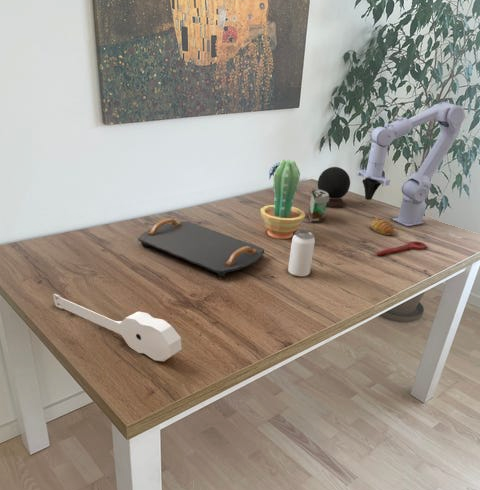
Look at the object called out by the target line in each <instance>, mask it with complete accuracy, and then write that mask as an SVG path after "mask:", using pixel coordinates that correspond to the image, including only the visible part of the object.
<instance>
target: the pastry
mask: <svg viewBox="0 0 480 490" xmlns="http://www.w3.org/2000/svg"><path fill="white" fill-rule="evenodd" d="M370 228H371V229H372V230H373V231H375V232H377V233H378V234H381V235H386V236H390V235H393V234H394V233H395V228H394V226H393V225H392V224H391V223H390V222H389V221H387V220H385V219H382V218H380V217H377V218H375V219H373V220H372V221H371V222H370Z"/></svg>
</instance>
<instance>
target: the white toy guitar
mask: <svg viewBox="0 0 480 490" xmlns="http://www.w3.org/2000/svg"><path fill="white" fill-rule="evenodd" d="M52 297H53V302H54V305H55V307H57V308H59V309H60V310H61V309H62V310H66V311H68V312H70V313H72V314H74V315H76V316H78V317H81V318H82V319H86V320H87V321H90V322H91V323H94V324H96V325H99V326H101V327H103V328H105V329H107V330H109V331H111V332H114V333H116V334H118V335H120V336H121V337H122V338H123V340H124V341H125V343H126V344H127V346H128V347H129V348H130V349H132V350H133V351H135V352H136V353H138V354H144V355H146V356H147V357H149V358H150V359H152V360H153V361H156V362H165V361H167V360H168V359H170V358H171V357H173V356H174V355H176V354H177V353H179V352H180V351H182V350H183V349H182V337H181V336H180V334H179V333H178V332H177V331H176V329H175V328H174V327H173V326H172V325H171V324H170V323H168V321H166V320H165V319H162V318H157V317H153V316H152V315H150V314H149V313H148V312H143V311H136V312H134V313H132V314H130V315H128V316H126V317H125V318H124V319H123V320H114V319H112V318H109V317H107V316H105V315H102V314H99V313H98V312H95V311H93V310H91V309H90V308H89V309H88V308H86V307H84V306H82V305H80V304H78V303H75V302H72V301H70V300H68V299H65V298H63V297H61V295H59V294H56V293H53V294H52Z"/></svg>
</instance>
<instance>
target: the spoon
mask: <svg viewBox="0 0 480 490" xmlns="http://www.w3.org/2000/svg"><path fill="white" fill-rule="evenodd" d="M426 247H427V244H426V243H425V242H423V241H409V243H408V244H405V245H401V246H396V247H392V248H391V247H390V248H387V249H382V250H379V251H378V250H377V252H376V255H377V257H380V256H385V255H390V254H393V253H398V252H402V251H407V250H417V251H422V250H424V249H426Z"/></svg>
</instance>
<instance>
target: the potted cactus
mask: <svg viewBox="0 0 480 490" xmlns="http://www.w3.org/2000/svg"><path fill="white" fill-rule="evenodd" d="M272 176H273V178H272ZM300 177H301V172H300V169H299V167H298V165H297V163H296V162H295V160H290V159H287V160H286V159H282V161H277V162H275V163H274V164H272V165H271V167H270V168H269V171H268V180H271V178H272V179H273V180H272V188H273V193H274V201H273V204H270V205H264V206H263V207H261V208H260V214H261V215H260V216H261V218H263V220H264V225H265V227H266V229H267V235H268V236H269V237H271V238H274V239H279V240H286V239H291V238H293V236H294V233H295V232H296V230H297V229H298V228H299V226H300V224H301V223H302V221H304V220H305V217H306V214H305V211H304V210H302V209H300V208H297V207H295V206H293V203H294V199H295V195H296V192H297V191H298V187H299V183H300Z"/></svg>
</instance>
